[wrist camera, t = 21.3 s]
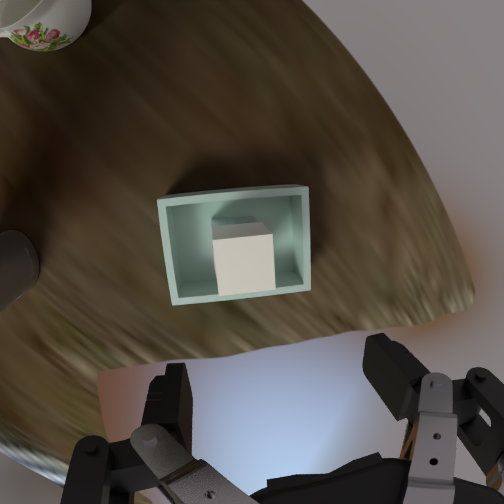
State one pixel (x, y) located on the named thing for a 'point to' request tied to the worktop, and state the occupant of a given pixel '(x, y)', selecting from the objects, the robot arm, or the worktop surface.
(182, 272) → the tote
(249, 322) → the worktop surface
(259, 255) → the cream box
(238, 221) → the steel block
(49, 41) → the pitcher
